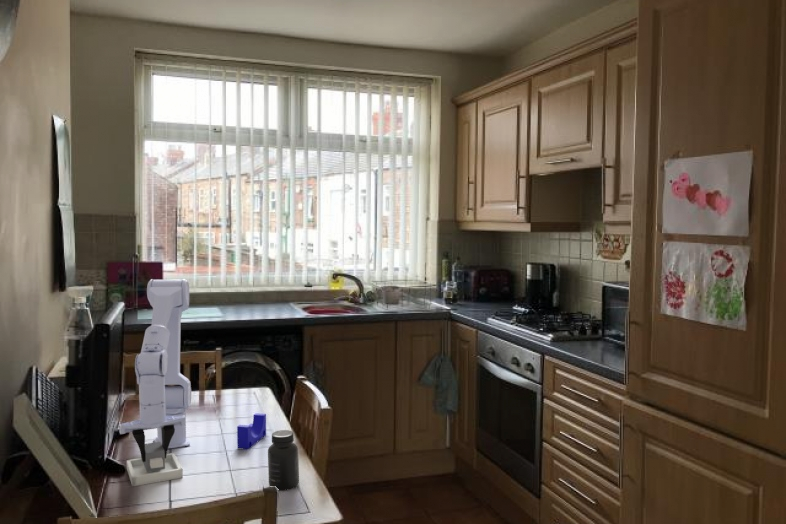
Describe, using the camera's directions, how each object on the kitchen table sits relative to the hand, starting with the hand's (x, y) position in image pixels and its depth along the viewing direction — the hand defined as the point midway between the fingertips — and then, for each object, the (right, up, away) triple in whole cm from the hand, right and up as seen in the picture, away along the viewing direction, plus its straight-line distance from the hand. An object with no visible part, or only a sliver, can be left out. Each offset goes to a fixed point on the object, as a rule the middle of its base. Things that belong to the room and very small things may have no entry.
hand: (153, 458), depth 156 cm
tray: (0, -3, 0) cm, 3 cm away
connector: (0, -2, 0) cm, 2 cm away
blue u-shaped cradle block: (+18, -2, +23) cm, 29 cm away
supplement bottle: (+32, -4, -7) cm, 33 cm away
